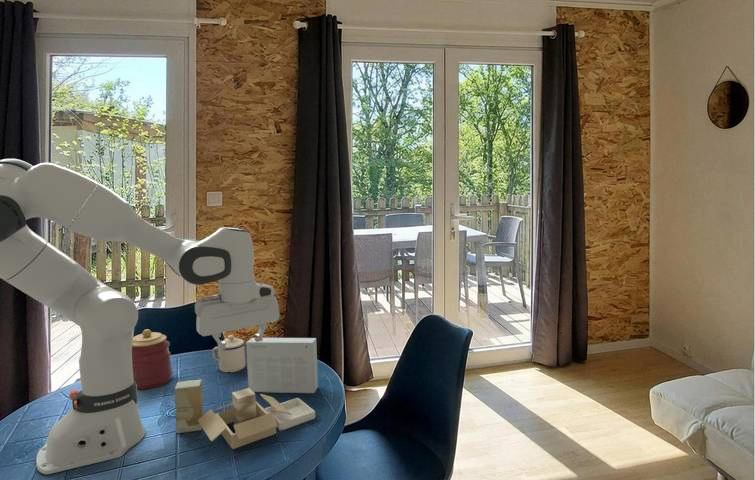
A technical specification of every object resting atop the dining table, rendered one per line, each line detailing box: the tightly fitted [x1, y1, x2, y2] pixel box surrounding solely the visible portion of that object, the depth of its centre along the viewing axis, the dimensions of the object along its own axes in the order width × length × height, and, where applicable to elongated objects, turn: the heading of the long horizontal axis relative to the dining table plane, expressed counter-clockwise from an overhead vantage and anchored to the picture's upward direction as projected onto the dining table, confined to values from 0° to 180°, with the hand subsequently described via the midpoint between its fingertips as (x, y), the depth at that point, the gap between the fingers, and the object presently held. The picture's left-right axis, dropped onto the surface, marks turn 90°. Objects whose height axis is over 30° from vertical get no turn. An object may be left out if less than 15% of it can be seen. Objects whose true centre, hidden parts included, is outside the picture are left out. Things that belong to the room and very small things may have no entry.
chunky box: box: [231, 387, 257, 431], centre depth 114 cm, size 4×4×10 cm
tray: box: [263, 397, 316, 432], centre depth 121 cm, size 10×10×2 cm
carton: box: [197, 393, 291, 450], centre depth 114 cm, size 20×19×6 cm
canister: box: [132, 328, 173, 390], centre depth 145 cm, size 13×13×18 cm
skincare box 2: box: [245, 337, 319, 394], centre depth 137 cm, size 21×6×16 cm, turn 84°
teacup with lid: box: [211, 334, 246, 373], centre depth 155 cm, size 12×9×12 cm
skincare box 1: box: [174, 379, 204, 434], centre depth 116 cm, size 6×4×12 cm
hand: (240, 345), depth 112 cm, fingers open, 8 cm apart
